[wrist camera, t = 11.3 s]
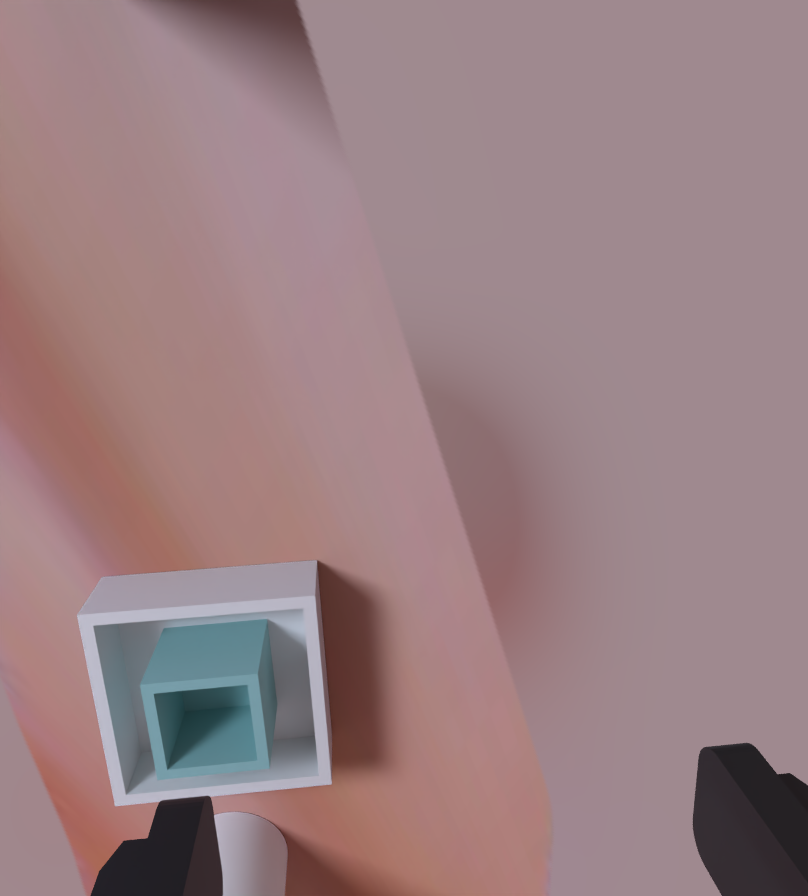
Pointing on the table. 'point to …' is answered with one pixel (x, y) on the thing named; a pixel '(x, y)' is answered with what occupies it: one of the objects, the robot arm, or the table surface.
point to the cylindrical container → (251, 855)
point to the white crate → (197, 603)
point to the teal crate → (211, 699)
